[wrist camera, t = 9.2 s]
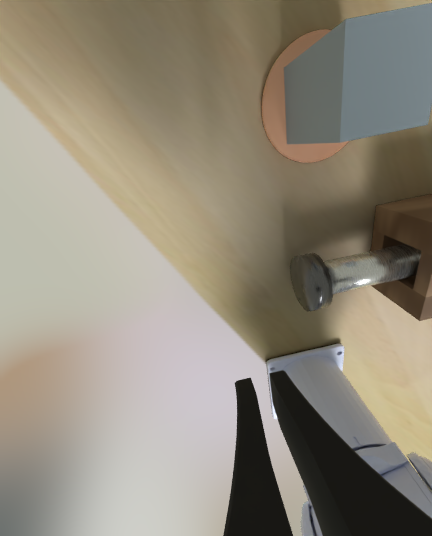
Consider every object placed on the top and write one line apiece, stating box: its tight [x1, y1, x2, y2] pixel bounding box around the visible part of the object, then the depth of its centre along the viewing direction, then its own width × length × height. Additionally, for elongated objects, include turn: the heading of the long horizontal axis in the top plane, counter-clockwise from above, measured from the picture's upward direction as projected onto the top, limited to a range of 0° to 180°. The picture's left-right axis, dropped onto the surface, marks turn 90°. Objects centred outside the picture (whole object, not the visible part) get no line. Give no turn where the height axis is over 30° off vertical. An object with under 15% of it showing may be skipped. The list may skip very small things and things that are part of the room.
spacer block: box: [284, 3, 432, 144], centre depth 12 cm, size 4×4×6 cm
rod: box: [290, 244, 422, 311], centre depth 18 cm, size 4×8×4 cm, turn 100°
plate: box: [262, 29, 349, 163], centre depth 15 cm, size 7×7×1 cm
